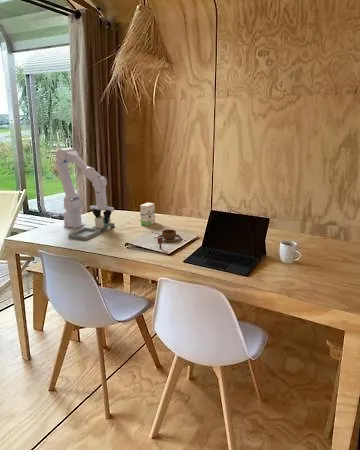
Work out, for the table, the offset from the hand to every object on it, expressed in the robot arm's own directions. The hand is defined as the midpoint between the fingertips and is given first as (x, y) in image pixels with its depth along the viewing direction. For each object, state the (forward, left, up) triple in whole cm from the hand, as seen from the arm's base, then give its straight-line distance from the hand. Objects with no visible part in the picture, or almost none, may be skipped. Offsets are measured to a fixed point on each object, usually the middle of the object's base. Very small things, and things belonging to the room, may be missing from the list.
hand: (103, 222), depth 205 cm
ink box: (+19, +18, -4) cm, 26 cm away
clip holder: (0, 0, -3) cm, 3 cm away
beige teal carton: (0, 0, -3) cm, 3 cm away
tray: (-2, -14, -3) cm, 14 cm away
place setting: (+41, -8, -4) cm, 42 cm away
